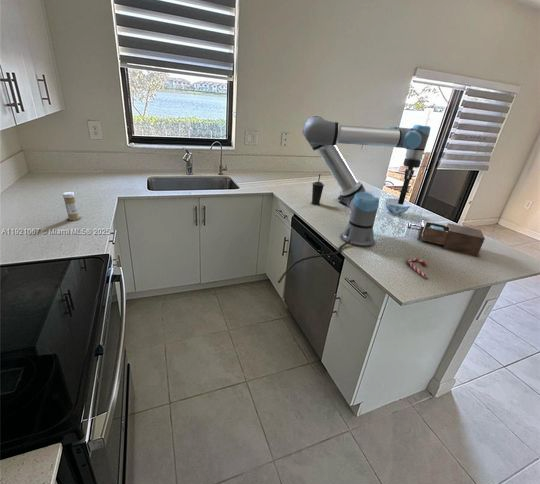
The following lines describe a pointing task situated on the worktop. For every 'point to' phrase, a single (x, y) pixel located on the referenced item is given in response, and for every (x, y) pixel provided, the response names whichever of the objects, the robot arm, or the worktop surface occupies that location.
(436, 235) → the drawer
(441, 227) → the teal block
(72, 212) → the sprinkles bottle
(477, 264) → the worktop surface
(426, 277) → the candy cane
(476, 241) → the cabinet
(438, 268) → the worktop surface
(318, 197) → the drinking cup
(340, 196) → the casserole
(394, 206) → the chinaware
